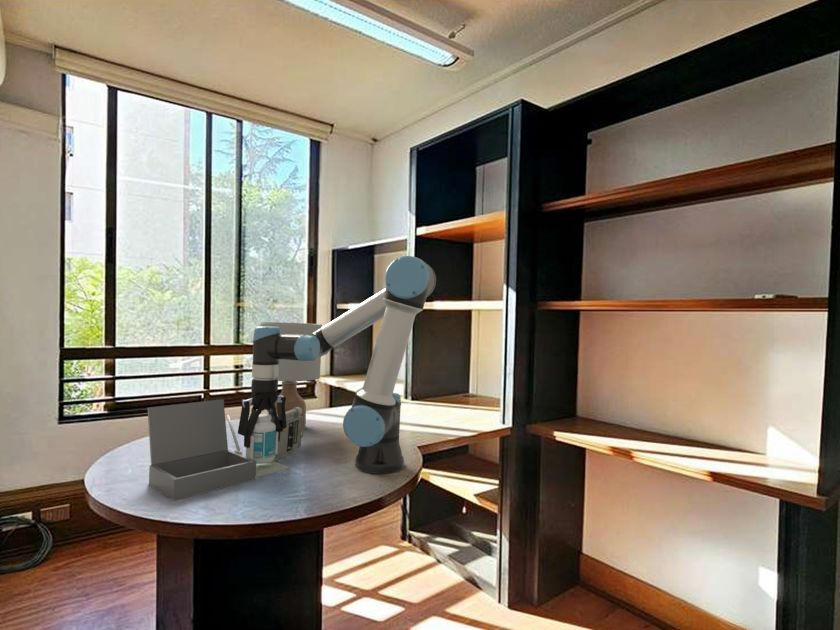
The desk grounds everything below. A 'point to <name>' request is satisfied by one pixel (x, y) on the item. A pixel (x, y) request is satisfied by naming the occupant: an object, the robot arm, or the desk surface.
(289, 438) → the geiger counter
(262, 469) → the mat
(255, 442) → the pill bottle
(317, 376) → the lamp
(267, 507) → the desk surface
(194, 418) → the case
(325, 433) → the desk surface
